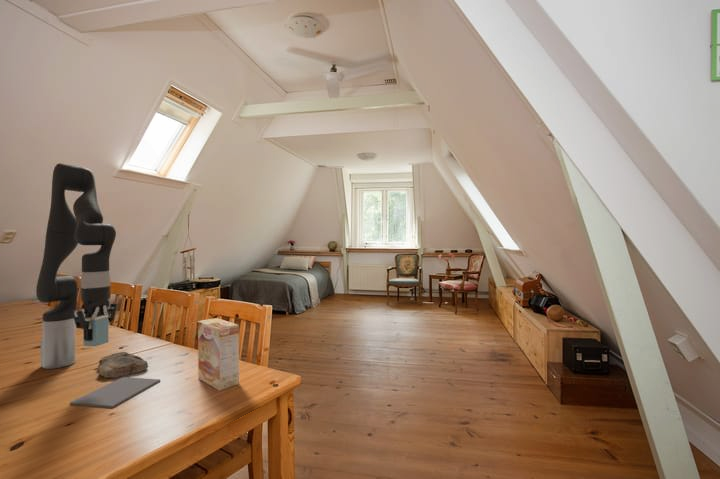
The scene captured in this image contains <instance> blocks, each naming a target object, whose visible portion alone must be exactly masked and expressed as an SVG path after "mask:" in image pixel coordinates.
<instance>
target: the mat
mask: <svg viewBox="0 0 720 479" xmlns="http://www.w3.org/2000/svg"><path fill="white" fill-rule="evenodd" d="M160 382H161V379H159V378H157V379H156V378H142V377H128V376H123V377H119V378H118V379H115V380H114V381H112V382H110V383H108V384H106V385H104V386H101V387H99V388H97V389H96V390H93V391H91V392H88V393H86V394H85V395H82V396H79V397H78V398H76V399H74V400H72V401H70V402H69V405H72V406H73V405H75V406H83V407H84V406H85V407H95V408H109V409H113V408H115V407H118V406H119V405H122V403H124V402H126V401H128V400H130V399H131V398H133V397H135V396H137V395H139V394H140V393H142V392H144V391H145V390H148V389H149V388H151V387H153V386H155V385H156V384H158V383H160Z"/></svg>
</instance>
